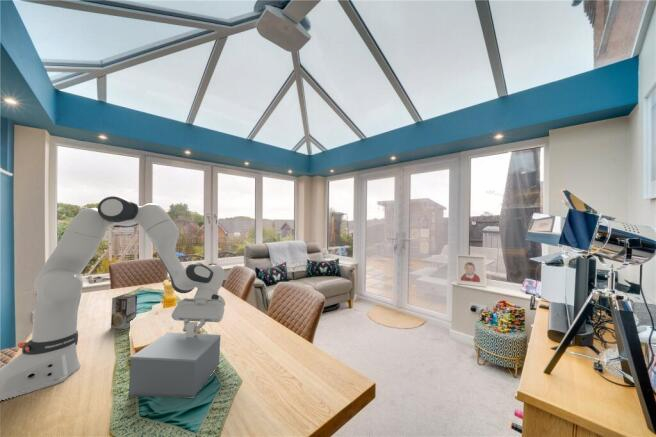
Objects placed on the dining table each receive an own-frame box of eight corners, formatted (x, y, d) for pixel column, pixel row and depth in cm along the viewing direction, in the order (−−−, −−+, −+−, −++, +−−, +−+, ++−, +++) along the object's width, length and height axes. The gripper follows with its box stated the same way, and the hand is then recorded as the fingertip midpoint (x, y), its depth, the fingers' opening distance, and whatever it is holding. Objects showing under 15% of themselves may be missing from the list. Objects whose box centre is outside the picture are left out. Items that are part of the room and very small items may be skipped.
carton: (193, 398, 79) (195, 362, 80) (128, 395, 80) (130, 359, 80) (218, 366, 97) (220, 337, 98) (165, 364, 98) (167, 334, 98)
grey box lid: (195, 362, 80) (196, 344, 80) (130, 359, 80) (131, 341, 80) (220, 336, 98) (221, 322, 98) (167, 334, 98) (168, 320, 98)
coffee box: (136, 324, 133) (138, 295, 133) (125, 329, 126) (127, 298, 127) (121, 323, 134) (123, 294, 134) (109, 328, 127) (111, 297, 128)
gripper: (178, 294, 103) (161, 327, 93) (225, 296, 103) (212, 329, 93) (184, 301, 108) (168, 333, 98) (229, 303, 107) (217, 335, 97)
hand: (190, 331), depth 95 cm, fingers closed on grey box lid, 3 cm apart
